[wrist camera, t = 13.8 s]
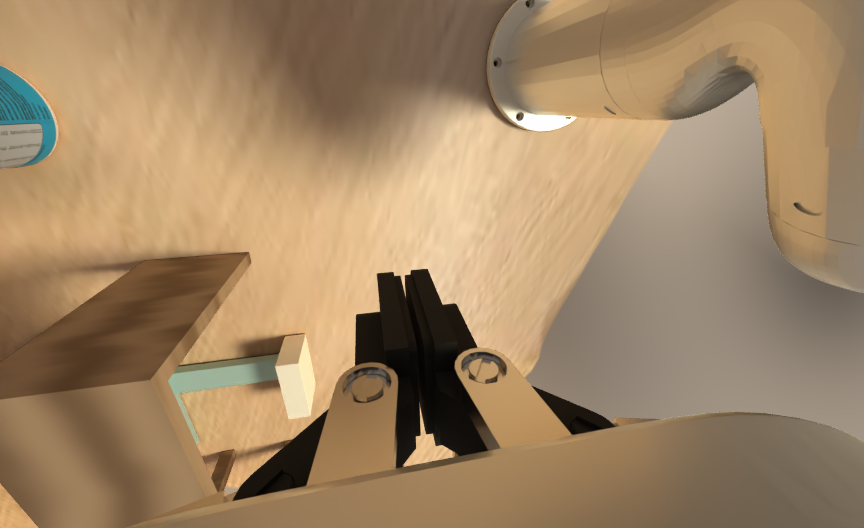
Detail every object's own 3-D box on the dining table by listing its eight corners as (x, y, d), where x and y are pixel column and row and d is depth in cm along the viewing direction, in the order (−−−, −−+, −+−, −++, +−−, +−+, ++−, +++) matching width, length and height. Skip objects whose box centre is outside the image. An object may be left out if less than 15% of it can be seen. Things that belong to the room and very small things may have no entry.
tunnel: (248, 252, 36) (150, 380, 19) (298, 444, 49) (265, 624, 32) (144, 260, 35) (-65, 408, 18) (223, 457, 48) (147, 653, 30)
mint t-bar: (295, 283, 39) (286, 308, 34) (323, 420, 48) (319, 455, 43) (127, 299, 36) (91, 329, 31) (191, 441, 45) (171, 481, 40)
